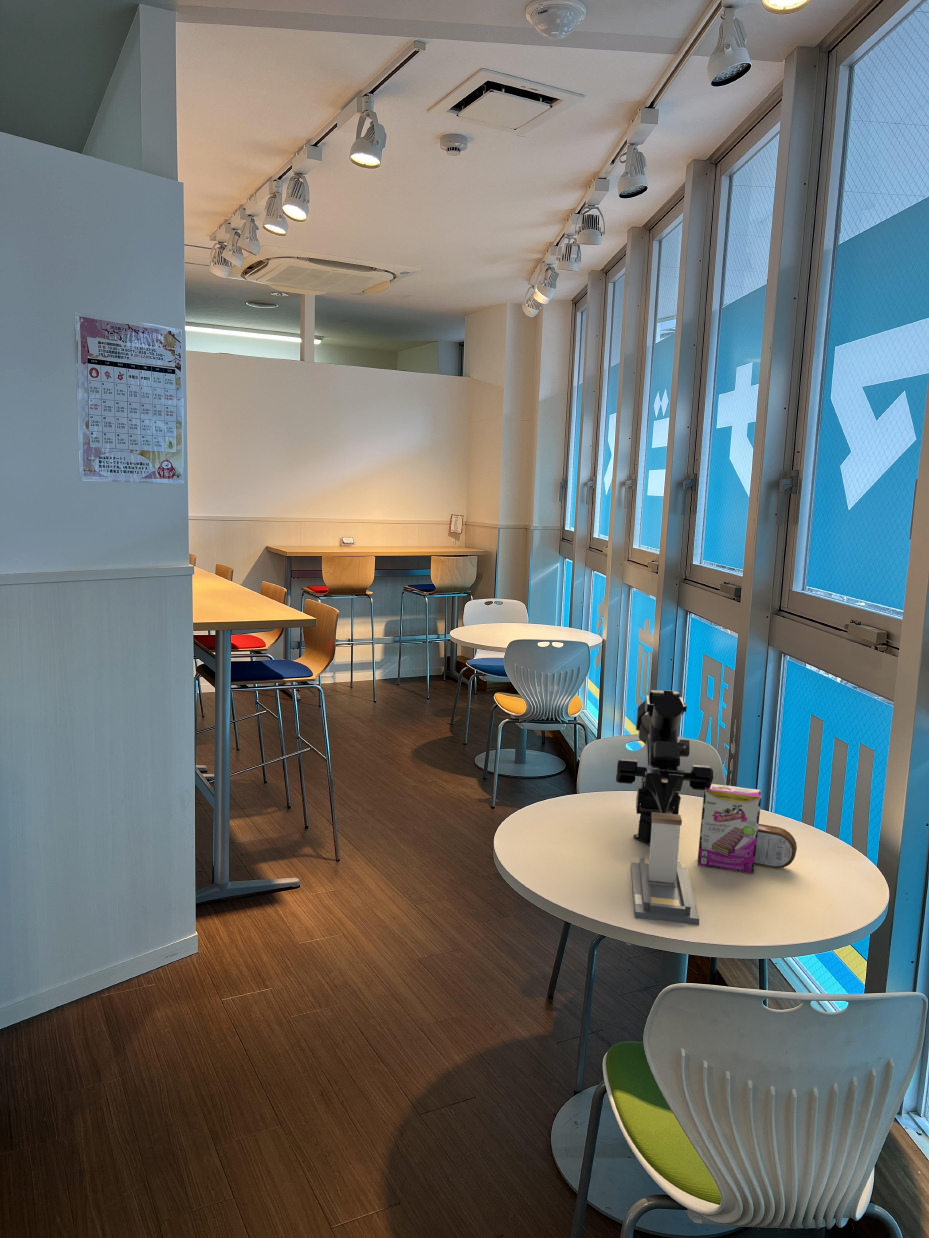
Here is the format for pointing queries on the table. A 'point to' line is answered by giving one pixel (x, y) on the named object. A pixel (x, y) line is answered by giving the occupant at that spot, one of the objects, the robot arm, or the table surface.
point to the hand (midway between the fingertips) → (663, 813)
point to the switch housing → (663, 896)
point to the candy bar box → (729, 828)
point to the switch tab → (664, 847)
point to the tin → (774, 847)
